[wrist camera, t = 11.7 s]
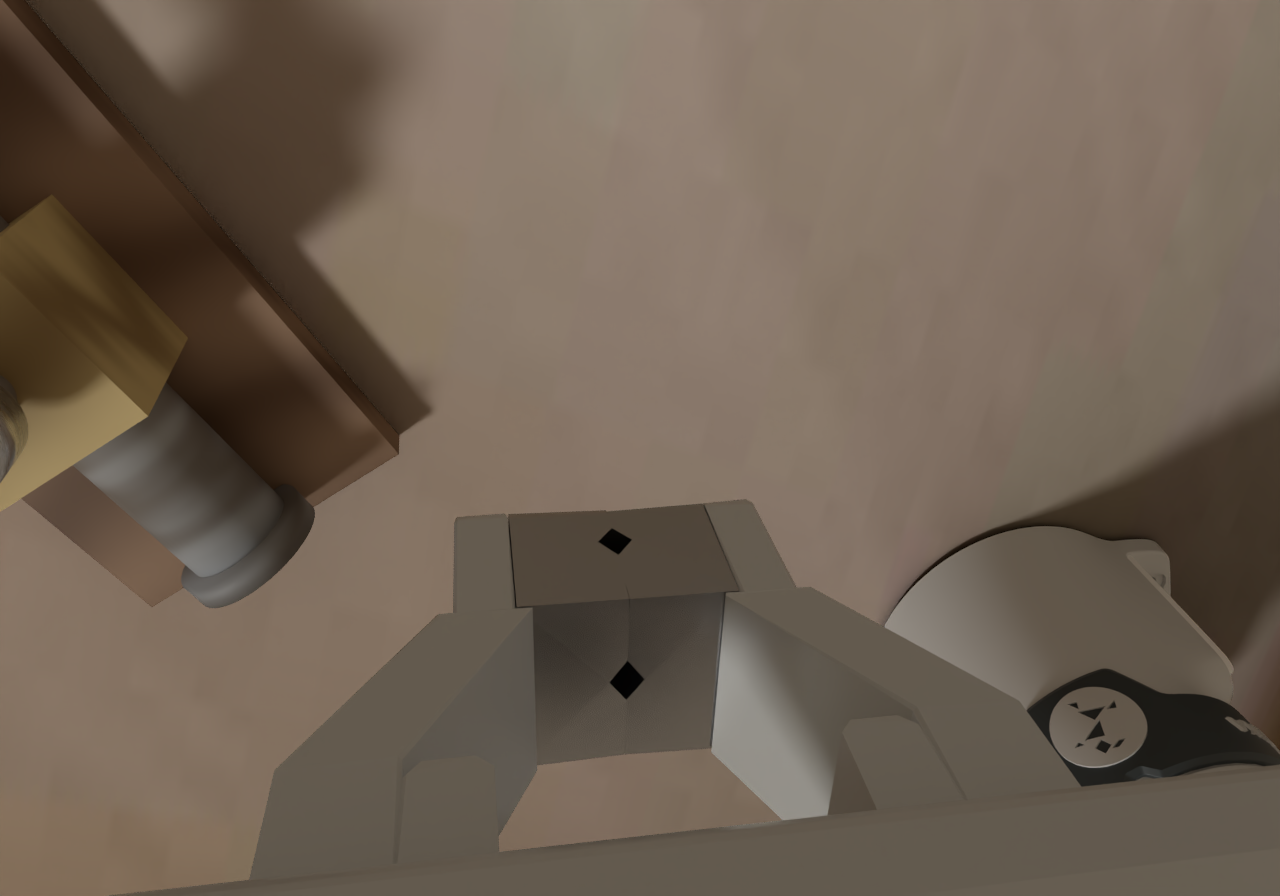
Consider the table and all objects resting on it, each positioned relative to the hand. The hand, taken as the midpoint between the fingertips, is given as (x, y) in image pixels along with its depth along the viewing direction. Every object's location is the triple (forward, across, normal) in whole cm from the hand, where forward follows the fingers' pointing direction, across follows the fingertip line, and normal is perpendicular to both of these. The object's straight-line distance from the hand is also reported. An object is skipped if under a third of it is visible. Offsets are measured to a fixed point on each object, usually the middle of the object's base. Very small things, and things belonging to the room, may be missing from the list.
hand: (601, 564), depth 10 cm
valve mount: (+27, +16, +6) cm, 32 cm away
